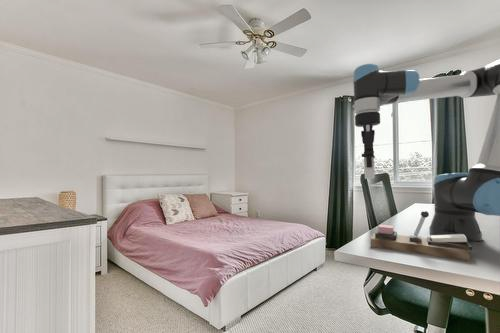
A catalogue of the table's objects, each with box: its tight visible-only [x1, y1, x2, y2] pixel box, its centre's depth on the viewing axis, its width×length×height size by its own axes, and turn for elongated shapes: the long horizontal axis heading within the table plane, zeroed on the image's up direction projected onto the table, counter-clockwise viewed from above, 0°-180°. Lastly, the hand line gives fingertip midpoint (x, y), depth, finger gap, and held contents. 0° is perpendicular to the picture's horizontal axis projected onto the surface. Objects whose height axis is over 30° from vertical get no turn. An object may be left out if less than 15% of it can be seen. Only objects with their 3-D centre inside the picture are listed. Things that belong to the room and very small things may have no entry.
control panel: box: [370, 229, 473, 262], centre depth 78 cm, size 25×10×4 cm, turn 57°
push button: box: [378, 223, 394, 234], centre depth 82 cm, size 4×4×2 cm
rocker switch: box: [430, 234, 468, 242], centre depth 73 cm, size 8×4×1 cm, turn 57°
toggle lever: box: [413, 210, 430, 237], centre depth 77 cm, size 2×2×8 cm
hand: (369, 177), depth 82 cm, fingers open, 13 cm apart
